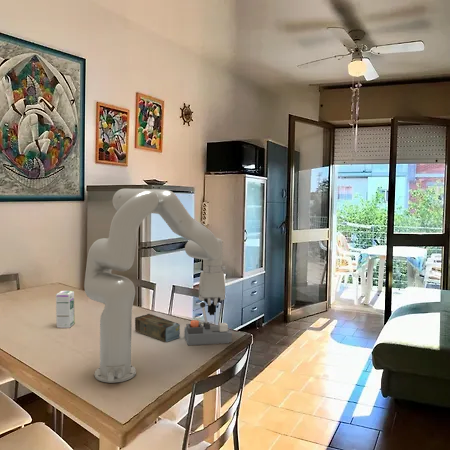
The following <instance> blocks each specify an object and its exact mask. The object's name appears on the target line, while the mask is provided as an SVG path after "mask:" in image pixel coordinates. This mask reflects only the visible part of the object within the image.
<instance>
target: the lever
mask: <svg viewBox="0 0 450 450" xmlns="http://www.w3.org/2000/svg"><path fill="white" fill-rule="evenodd" d="M199 306H200V308H201V309H202V310H201V311H202V315H203V320H204V321H203V322H205V324H208V322H209V321H208V318H207V314H206V312H207V311H206V309H205V308H206V302H205V301H201V302H200V303H199Z"/></svg>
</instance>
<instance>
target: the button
mask: <svg viewBox="0 0 450 450" xmlns="http://www.w3.org/2000/svg"><path fill="white" fill-rule="evenodd" d="M199 323H200V321H199V320H197V319H192V320H190V324H191V326H190V328H192V327H199Z"/></svg>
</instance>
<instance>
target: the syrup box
mask: <svg viewBox="0 0 450 450" xmlns="http://www.w3.org/2000/svg"><path fill="white" fill-rule="evenodd" d="M55 312H56V313H55V315H56V317H55V318H56V324H55V325H56V328H60V329H69V328H72V327H73V326H74V324H75V291H74V290H60V291H59V292H57V293H56V294H55Z"/></svg>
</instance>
